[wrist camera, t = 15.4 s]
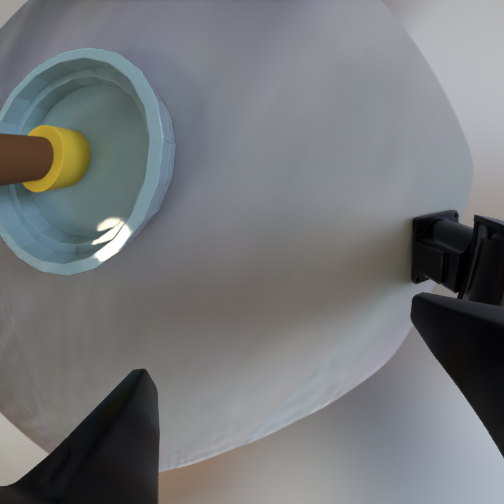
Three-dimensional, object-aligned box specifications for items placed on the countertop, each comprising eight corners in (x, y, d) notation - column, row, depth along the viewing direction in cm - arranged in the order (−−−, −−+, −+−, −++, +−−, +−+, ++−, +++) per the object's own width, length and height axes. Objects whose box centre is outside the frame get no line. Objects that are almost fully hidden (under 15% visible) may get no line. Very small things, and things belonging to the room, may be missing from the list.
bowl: (162, 47, 15) (148, 16, 10) (194, 229, 19) (187, 248, 15) (15, 113, 14) (-19, 107, 9) (43, 266, 19) (12, 289, 14)
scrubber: (88, 123, 16) (-43, 93, 3) (94, 179, 17) (-44, 208, 4) (45, 140, 15) (-82, 138, 3) (50, 192, 16) (-78, 231, 4)
